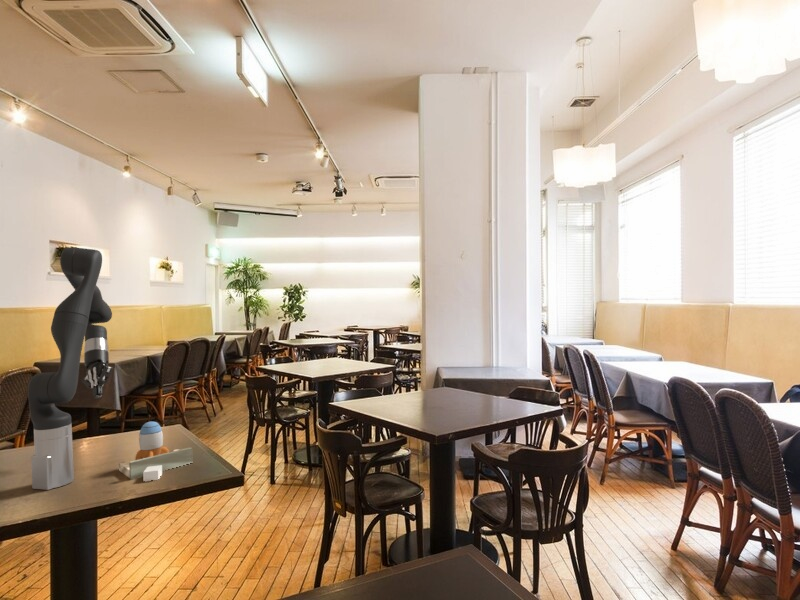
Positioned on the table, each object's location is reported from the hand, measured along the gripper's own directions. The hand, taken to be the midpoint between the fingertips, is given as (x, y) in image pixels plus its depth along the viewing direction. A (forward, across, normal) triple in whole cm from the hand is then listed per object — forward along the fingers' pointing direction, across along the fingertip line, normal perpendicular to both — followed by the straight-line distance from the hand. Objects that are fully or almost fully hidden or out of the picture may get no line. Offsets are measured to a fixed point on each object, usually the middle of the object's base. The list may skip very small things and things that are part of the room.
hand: (97, 397), depth 169 cm
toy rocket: (+29, -14, -6) cm, 33 cm away
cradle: (+31, -18, -5) cm, 36 cm away
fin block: (+36, -24, +2) cm, 44 cm away
